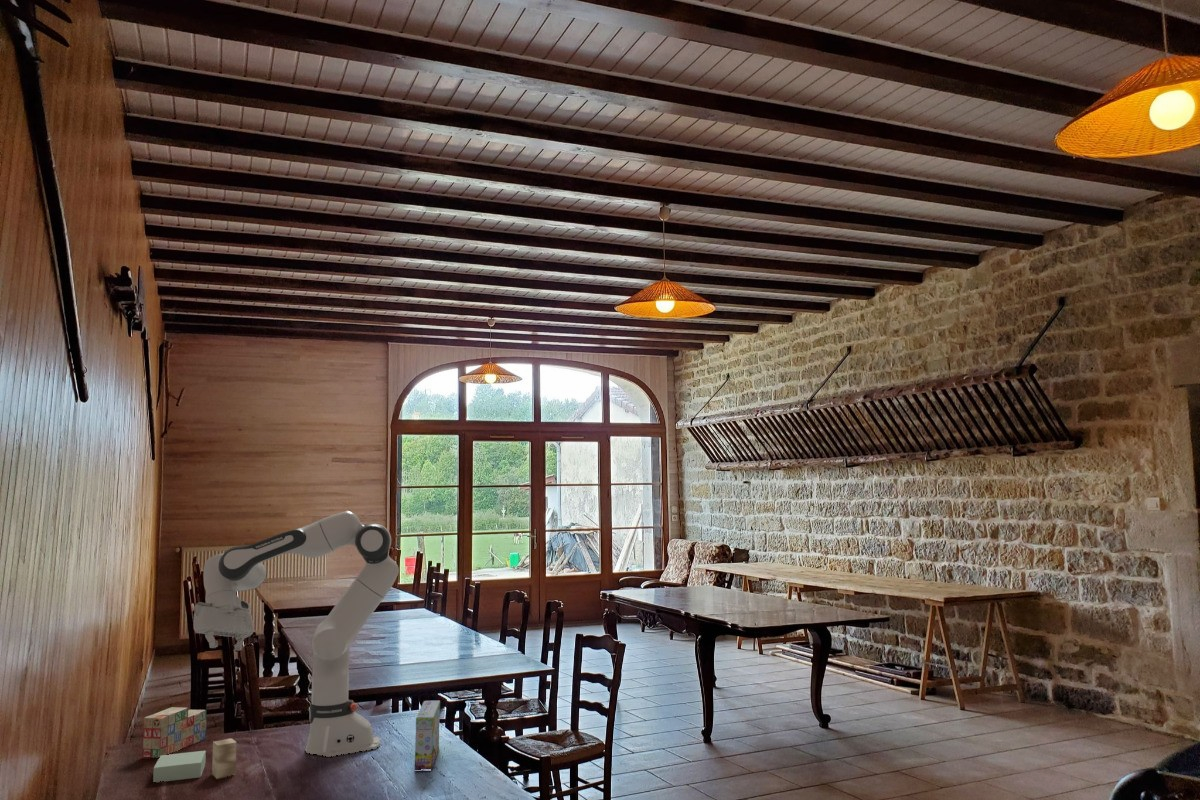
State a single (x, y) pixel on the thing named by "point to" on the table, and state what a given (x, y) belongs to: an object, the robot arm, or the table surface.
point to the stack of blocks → (172, 730)
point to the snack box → (427, 735)
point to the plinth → (179, 766)
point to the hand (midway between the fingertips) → (226, 648)
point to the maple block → (224, 758)
